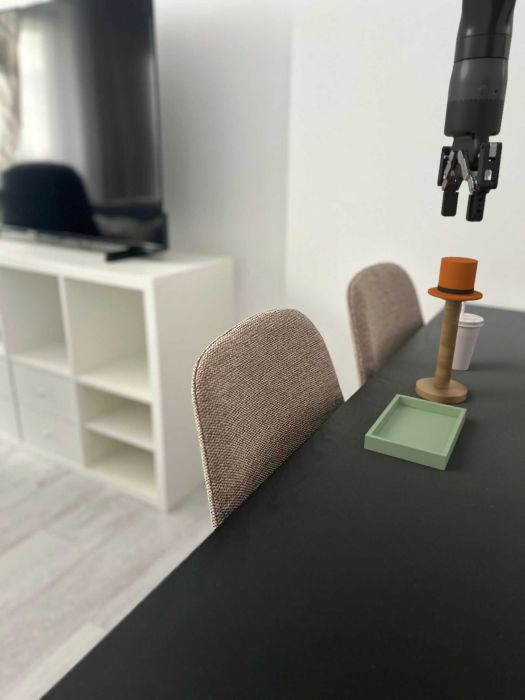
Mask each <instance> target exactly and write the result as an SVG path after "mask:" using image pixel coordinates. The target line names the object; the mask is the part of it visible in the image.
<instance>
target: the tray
mask: <svg viewBox="0 0 525 700" xmlns="http://www.w3.org/2000/svg"><path fill="white" fill-rule="evenodd" d="M467 411H468V410H467V408H464V407H459V406H455V405H449V404H446V403H438V402H433V401H430V400H427V399H424V398H417V397H412V396H409V395H403V394H399V393H397V394H395V396H394V397H393V398H392V400H391V401H390V402H389V403H388V405H387V406H386V407H385V409H384V410H383V411H382V413H381V414H380V416H379V417H378V418H377V419H376V420H375V422H374V423H373V425H371V427H370V428H369V429H368V431H367V432H366V433H365V435H364V445H363V450H367V451H372V452H375V453H378V454H383V455H386V456H390V457H393V458H397V459H400V460H404V461H408V462H411V463H415V464H418V465H421V466H425V467H429V468H433V469H436V470H440V471H445V470H446V467H447V465H448V463H449V460H450V458H451V455H452V453H453V451H454V449H455V446H456V444H457V441H458V438H459V437H460V434H461V431H462V429H463V426H464V424H465V422H466V416H467Z"/></svg>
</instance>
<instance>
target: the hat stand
mask: <svg viewBox="0 0 525 700" xmlns="http://www.w3.org/2000/svg"><path fill="white" fill-rule="evenodd" d="M439 299H441V298H439ZM441 300H443V301H444V309H443V315H442V321H441V322H442V323H441V331H440V336H439V344H438V351H437V352H438V353H437V359H436V367H435V373H434V376H432V377H423V378H420V379H418V380H417V381H416V383H415V388H414V389H415V394H417V395H418V396H419V397H421V399H423V400H427V401H432V402H436V403H441V404H446V405H449V404H452V405H453V404H458V403H462V402H464V401H465V400H466V399H467V397H468V388H467V387H466V386H465V385H464V384H462V383H461V382H458V381H456V380H453V379H451V377H452V373H453V372H452V371H453V369H452V365H453V358H454V352H455V345H456V338H457V331H458V325H459V318H460V313H461V310H462V303H463V302H466V303H467V301H456V300H447V299H441Z"/></svg>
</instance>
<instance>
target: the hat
mask: <svg viewBox="0 0 525 700" xmlns="http://www.w3.org/2000/svg"><path fill="white" fill-rule="evenodd" d="M478 264H479V260H478V259H475V258H471V257H464V256H444V257H442V258H441V260H440V266H439V275H438V283H437V286H433V287H430V288H428V289H427V294H428V295H429V296H431V297H434V298H437V299H440V298H441V300H443V299H447V300H456V301H466V302H473V301H474V302H475V301H478V300H482V299H483V297H484V294H483V293H482V292H480V291H478V290H476V289H475V283H476V279H477V271H478Z"/></svg>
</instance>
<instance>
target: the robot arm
mask: <svg viewBox="0 0 525 700" xmlns="http://www.w3.org/2000/svg"><path fill="white" fill-rule="evenodd" d="M516 5H517V0H461V13H460V19H459V24H458V28H457V33H456V37H455V46H454V55H453V64H452V71H451V74H450V79H449V84H448V91H447V101H446V108H445V118H444V125H443V127H444V128H443V136H445V137H448V138H453V141H452V144H451V145H443V146H442V147H441V152H440V158H439V165H438V176H437V180H436V185H437V187H440V190H441V191H442V192H443V193H442V199H441V200H442V201H441V210H440V215H441V217H443V218H444V217H445V218H446V217H447V218H449V217H451V218H452V217H455V216H456V215H457V210H458V202H459V196H460V191H459V190H460V188H461V186H462V184H463V181H465V182H466V183H467V186H468V192H469V194H468V198H467V204H466V212H465V221H466V222H469V223H480V222H482V221H483V219H484V212H485V205H486V201H487V200H486V199H487V195H488V194H490V192H491V190H496V189H497V188H498V185H499V176H500V170H501V169H500V168H501V162H502V152H503V142H501V141H490V137H496V136H498V135H499V134H500V133H501V129H502V123H503V115H504V109H505V102H506V96H507V88H508V81H509V60H510V53H511V52H510V51H511V46H512V40H513V32H514V17H515V9H516Z"/></svg>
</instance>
